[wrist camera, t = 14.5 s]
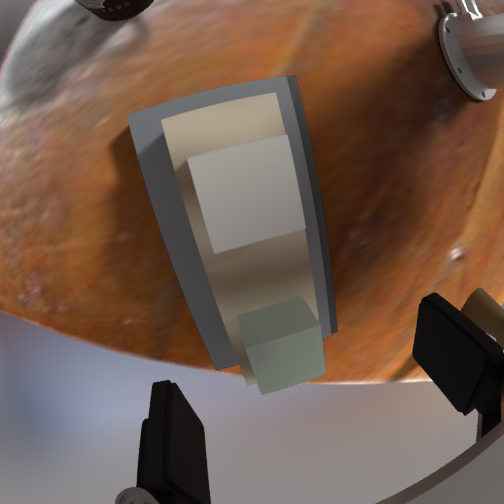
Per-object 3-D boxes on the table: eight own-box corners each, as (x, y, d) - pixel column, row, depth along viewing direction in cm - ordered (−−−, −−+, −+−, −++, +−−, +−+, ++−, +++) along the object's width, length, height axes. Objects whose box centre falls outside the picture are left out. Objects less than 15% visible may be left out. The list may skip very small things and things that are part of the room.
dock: (135, 119, 20) (126, 115, 17) (285, 82, 21) (296, 74, 18) (214, 351, 29) (216, 370, 27) (327, 317, 30) (338, 332, 28)
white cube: (190, 156, 15) (187, 159, 12) (269, 136, 15) (287, 134, 12) (211, 232, 17) (214, 253, 13) (285, 211, 17) (306, 228, 14)
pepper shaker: (459, 325, 37) (500, 361, 27) (466, 294, 35) (513, 330, 24) (479, 312, 37) (519, 344, 27) (486, 283, 35) (531, 314, 25)
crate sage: (237, 315, 19) (245, 348, 16) (301, 295, 19) (320, 324, 16) (252, 361, 21) (261, 395, 17) (309, 343, 21) (325, 374, 18)
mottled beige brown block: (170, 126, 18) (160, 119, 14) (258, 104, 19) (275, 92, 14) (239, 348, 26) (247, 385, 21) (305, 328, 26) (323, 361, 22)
